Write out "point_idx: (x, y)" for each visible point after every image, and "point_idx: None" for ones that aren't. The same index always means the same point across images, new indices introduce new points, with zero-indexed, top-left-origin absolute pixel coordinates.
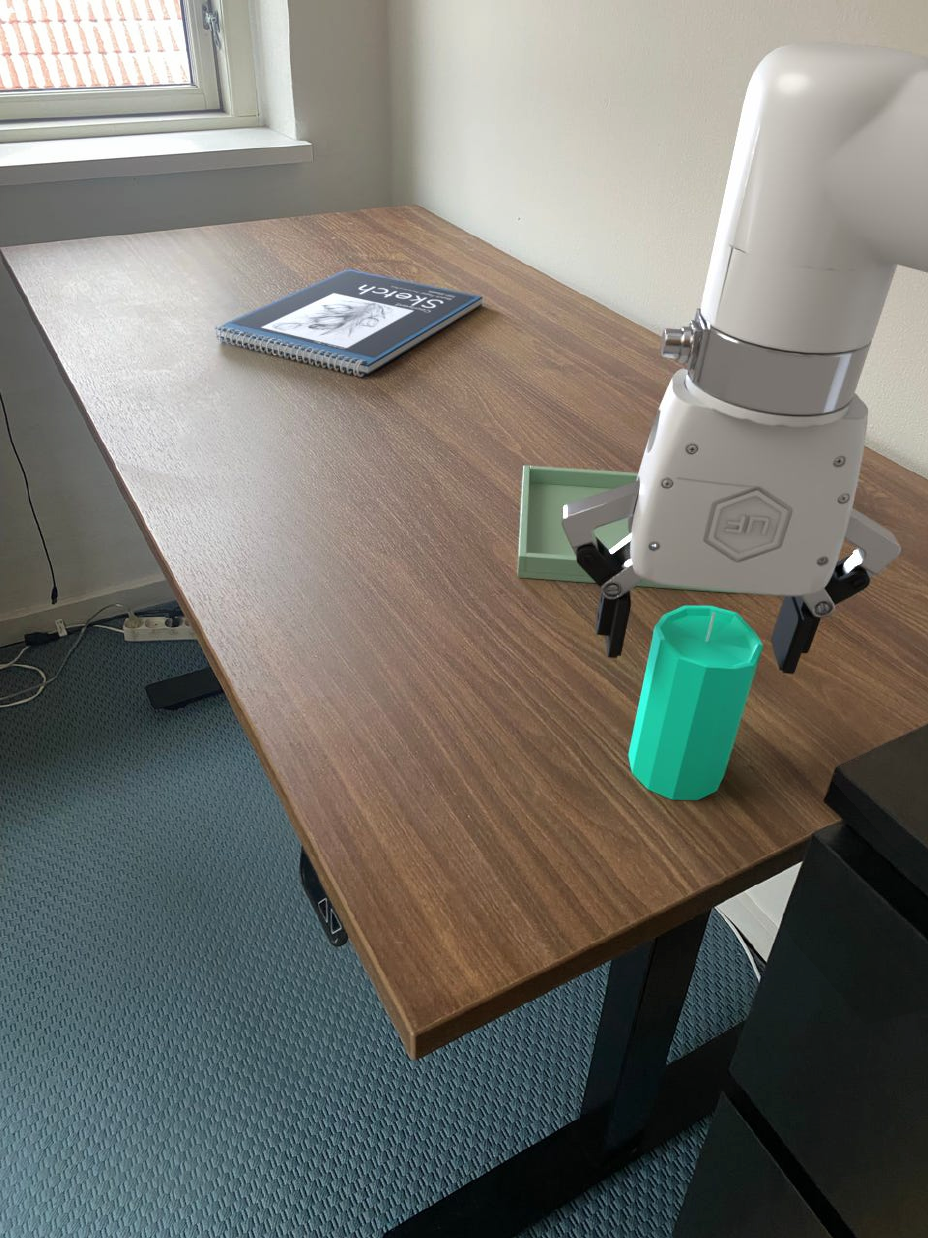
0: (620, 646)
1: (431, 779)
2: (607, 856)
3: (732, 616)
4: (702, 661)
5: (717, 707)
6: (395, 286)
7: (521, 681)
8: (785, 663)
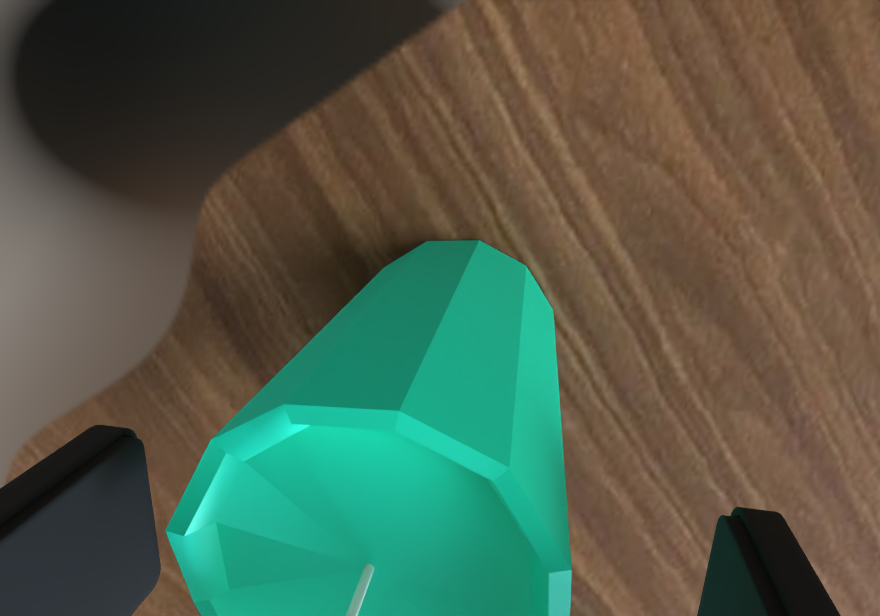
0: (748, 548)
1: None
2: (649, 72)
3: None
4: (403, 464)
5: (368, 329)
6: None
7: None
8: (105, 452)
